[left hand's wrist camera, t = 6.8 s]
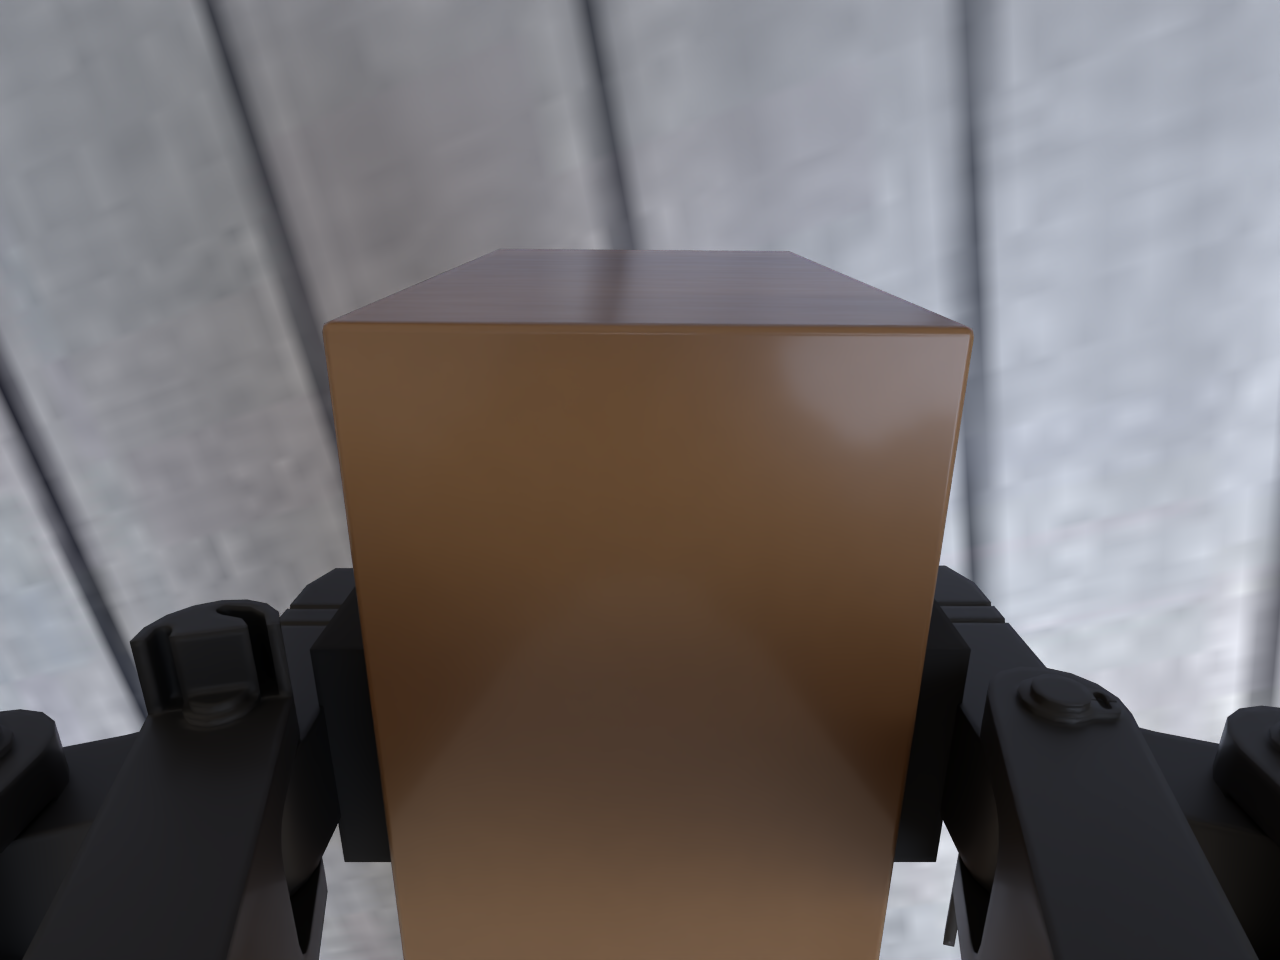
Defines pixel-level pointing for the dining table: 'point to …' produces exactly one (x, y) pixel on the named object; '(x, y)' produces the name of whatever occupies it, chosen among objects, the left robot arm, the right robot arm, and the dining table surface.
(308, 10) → the dining table surface
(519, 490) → the beam
